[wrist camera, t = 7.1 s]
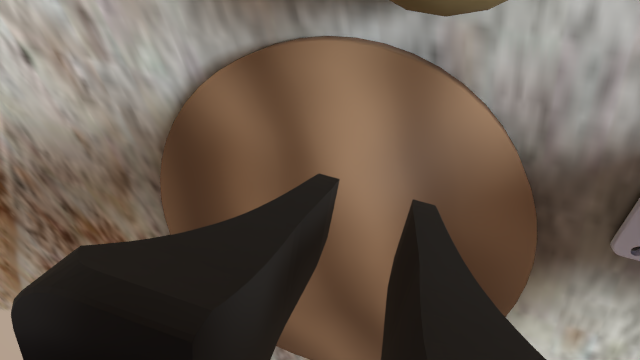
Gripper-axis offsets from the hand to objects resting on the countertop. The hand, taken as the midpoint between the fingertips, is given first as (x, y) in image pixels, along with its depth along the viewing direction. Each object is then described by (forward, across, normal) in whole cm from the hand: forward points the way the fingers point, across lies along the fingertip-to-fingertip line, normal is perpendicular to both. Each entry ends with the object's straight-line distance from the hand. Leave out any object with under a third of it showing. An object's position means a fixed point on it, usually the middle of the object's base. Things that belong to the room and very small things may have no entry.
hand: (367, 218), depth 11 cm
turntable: (+9, +2, +7) cm, 12 cm away
